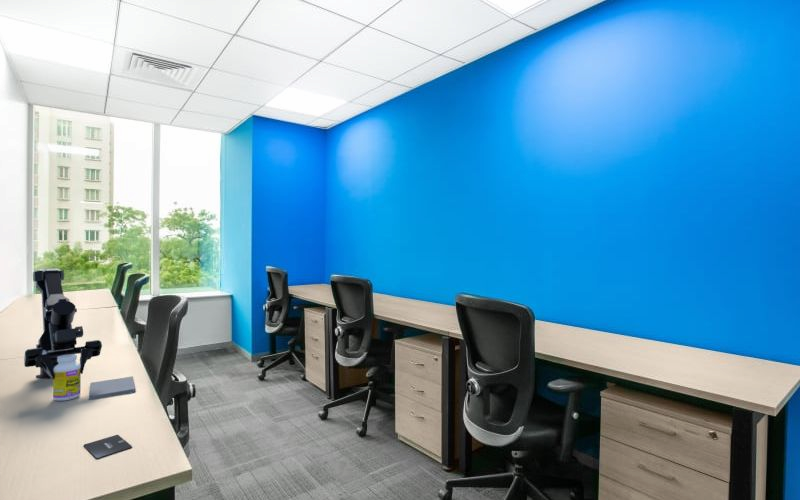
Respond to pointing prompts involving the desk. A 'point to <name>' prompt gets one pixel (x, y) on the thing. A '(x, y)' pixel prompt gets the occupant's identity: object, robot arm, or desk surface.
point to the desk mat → (111, 387)
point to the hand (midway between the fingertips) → (67, 375)
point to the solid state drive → (107, 446)
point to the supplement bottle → (66, 378)
